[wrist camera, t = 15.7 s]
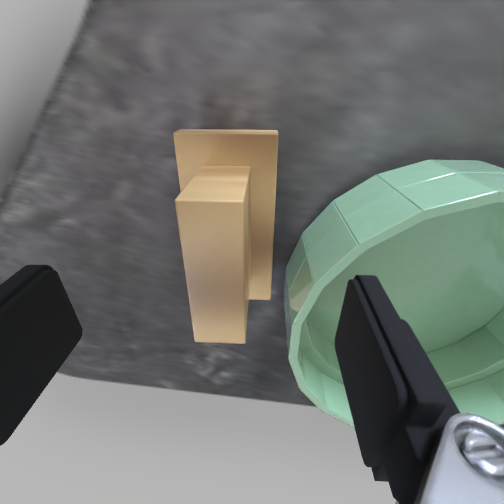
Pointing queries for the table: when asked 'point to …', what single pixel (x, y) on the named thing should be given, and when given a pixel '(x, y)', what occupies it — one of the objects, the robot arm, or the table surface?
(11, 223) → the table surface
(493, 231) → the bowl
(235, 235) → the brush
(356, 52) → the table surface
